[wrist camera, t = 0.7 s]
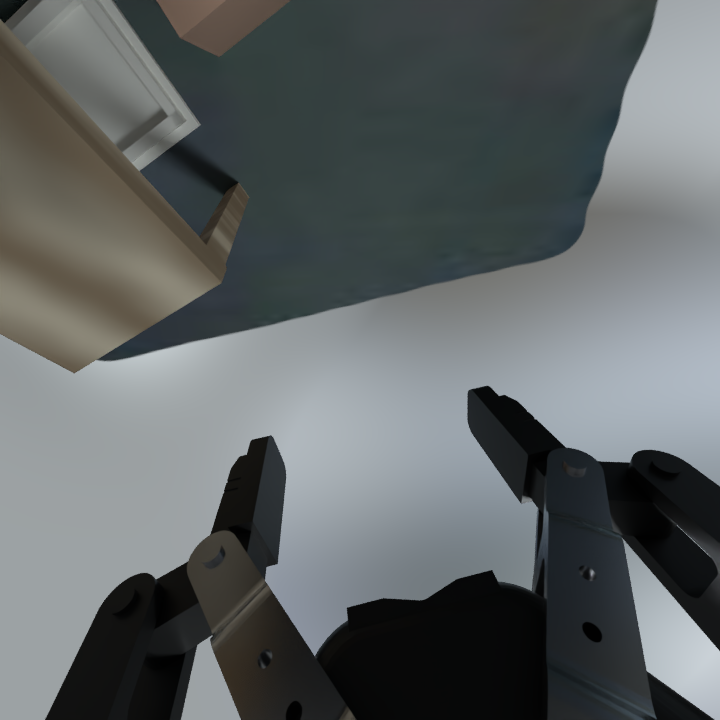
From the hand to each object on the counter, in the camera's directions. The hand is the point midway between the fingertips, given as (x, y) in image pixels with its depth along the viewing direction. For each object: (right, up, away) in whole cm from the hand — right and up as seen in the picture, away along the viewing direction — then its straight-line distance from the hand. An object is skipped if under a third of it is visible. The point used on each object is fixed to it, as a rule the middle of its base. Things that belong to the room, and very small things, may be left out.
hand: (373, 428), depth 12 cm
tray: (-22, +24, +12) cm, 35 cm away
